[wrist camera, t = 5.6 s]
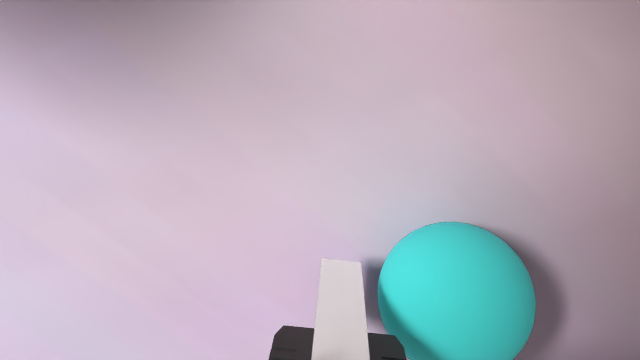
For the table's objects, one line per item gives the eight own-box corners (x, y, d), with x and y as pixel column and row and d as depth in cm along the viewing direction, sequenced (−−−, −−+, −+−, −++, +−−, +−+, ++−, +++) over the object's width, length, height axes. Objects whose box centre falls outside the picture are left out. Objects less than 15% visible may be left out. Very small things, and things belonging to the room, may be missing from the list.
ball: (430, 439, 13) (545, 389, 16) (471, 284, 11) (592, 256, 14) (341, 327, 18) (441, 303, 20) (361, 204, 16) (468, 195, 18)
